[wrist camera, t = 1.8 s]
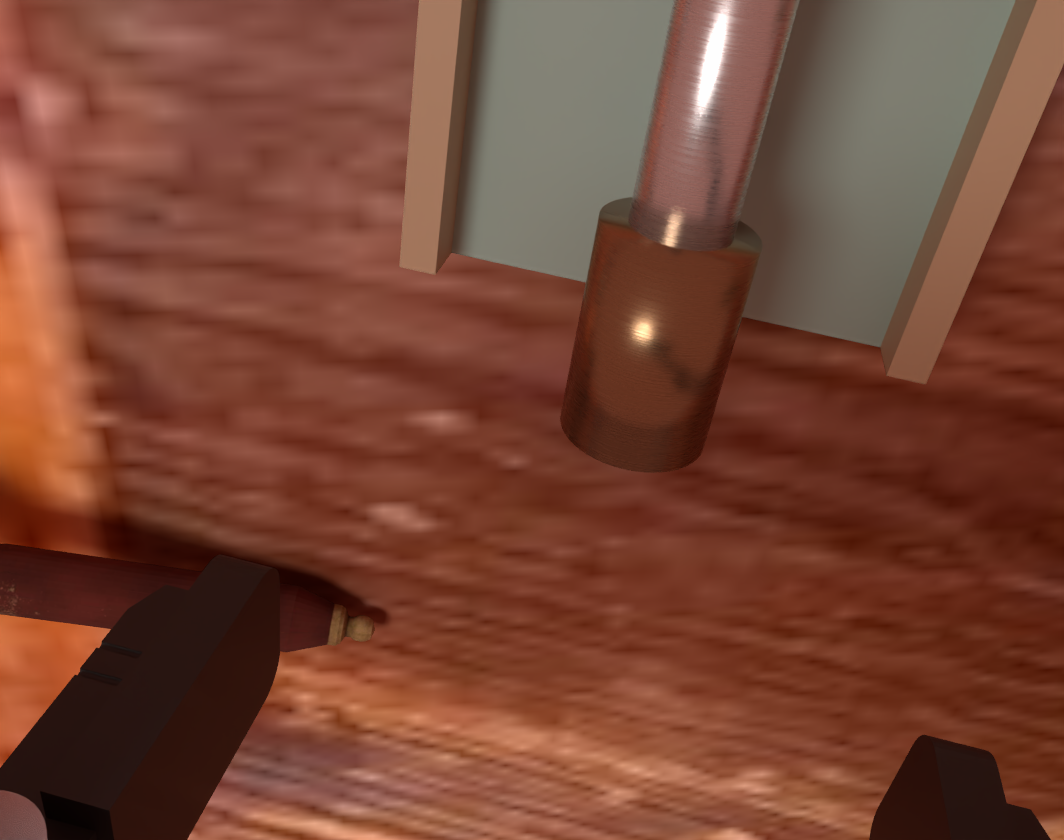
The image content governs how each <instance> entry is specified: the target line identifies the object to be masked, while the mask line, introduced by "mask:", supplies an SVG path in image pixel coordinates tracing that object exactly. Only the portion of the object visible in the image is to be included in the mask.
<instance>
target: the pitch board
mask: <svg viewBox="0 0 1064 840" xmlns="http://www.w3.org/2000/svg"><path fill="white" fill-rule="evenodd" d="M672 5H673V0H419V10H418V23H417V37H416V50H415V64H414V77H413V91H412V104H411V118H410V131H409V145H408V158H407V171H406V185H405V198H404V212H403V225H402V239H401V252H400V266H399V267H402V268H407V269H411V270H416V271H420V272H425V273H429V274H434V275H436V273H437V272H438V270H439V269H440V268H441V266H442V265H443V264H444V262H445V261H446V259H447V258H448V257H449V255H450V254H451V253H456V254H460V255H465V256H469V257H474V258H478V259H483V260H487V261H492V262H496V263H501V264H505V265H510V266H514V267H519V268H523V269H528V270H533V271H537V272H542V273H546V274H551V275H555V276H560V277H564V278H569V279H573V280H578V281H582V282H586V280H587V275H588V270H589V264H590V259H591V254H592V249H593V244H594V238H595V233H596V228H597V223H598V217H599V213H600V210H601V208H602V207H603V206H605V205H606V204H608V203H609V202H612V201H614V200H618V199H622V198H628V197H633V192H634V187H635V182H636V177H637V173H638V168H639V163H640V158H641V154H642V149H643V144H644V139H645V134H646V130H647V125H648V120H649V115H650V110H651V106H652V101H653V96H654V91H655V86H656V82H657V77H658V72H659V67H660V63H661V58H662V53H663V48H664V43H665V39H666V34H667V29H668V24H669V19H670V15H671V10H672ZM1063 64H1064V0H800V1H799V4H798V8H797V11H796V15H795V19H794V22H793V26H792V30H791V33H790V37H789V40H788V44H787V48H786V51H785V55H784V59H783V62H782V66H781V69H780V73H779V77H778V80H777V84H776V88H775V91H774V95H773V99H772V102H771V106H770V109H769V113H768V117H767V120H766V124H765V128H764V131H763V135H762V138H761V142H760V146H759V149H758V153H757V157H756V160H755V164H754V167H753V171H752V175H751V178H750V182H749V186H748V189H747V193H746V196H745V200H744V204H743V207H742V211H741V215H740V218H739V220H740V221H742V222H743V223H745V224H746V225H748V226H749V227H750V228H752V229H753V230H754V231H755V232H756V233H757V234H758V236H759V237H760V239H761V241H762V245H763V247H762V251H761V255H760V258H759V261H758V265H757V268H756V272H755V275H754V278H753V282H752V285H751V289H750V292H749V295H748V299H747V302H746V305H745V309H744V312H743V316H742V317H745V318H750V319H754V320H759V321H763V322H768V323H772V324H777V325H782V326H786V327H791V328H795V329H800V330H804V331H809V332H813V333H818V334H822V335H827V336H831V337H836V338H840V339H845V340H849V341H854V342H858V343H863V344H868V345H872V346H877V347H880V349H881V353H882V358H883V362H884V367H885V372H886V376H890V377H895V378H899V379H903V380H908V381H912V382H917V383H921V384H926V383H927V381H928V378H929V376H930V374H931V371H932V369H933V367H934V364H935V362H936V360H937V357H938V355H939V353H940V350H941V348H942V346H943V343H944V341H945V339H946V336H947V334H948V332H949V329H950V327H951V325H952V322H953V320H954V318H955V315H956V313H957V311H958V308H959V306H960V304H961V301H962V299H963V297H964V294H965V292H966V290H967V288H968V285H969V283H970V281H971V278H972V276H973V274H974V271H975V269H976V267H977V264H978V262H979V260H980V257H981V255H982V253H983V250H984V248H985V246H986V243H987V241H988V239H989V236H990V234H991V232H992V229H993V227H994V225H995V222H996V220H997V218H998V215H999V213H1000V211H1001V208H1002V206H1003V204H1004V201H1005V199H1006V197H1007V195H1008V192H1009V190H1010V188H1011V185H1012V183H1013V181H1014V178H1015V176H1016V174H1017V171H1018V169H1019V167H1020V164H1021V162H1022V160H1023V157H1024V155H1025V153H1026V150H1027V148H1028V146H1029V143H1030V141H1031V139H1032V136H1033V134H1034V132H1035V129H1036V127H1037V125H1038V122H1039V120H1040V118H1041V115H1042V113H1043V111H1044V108H1045V106H1046V104H1047V102H1048V99H1049V97H1050V95H1051V92H1052V90H1053V88H1054V85H1055V83H1056V81H1057V78H1058V76H1059V74H1060V71H1061V69H1062V67H1063Z"/></svg>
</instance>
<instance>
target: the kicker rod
mask: <svg viewBox="0 0 1064 840" xmlns="http://www.w3.org/2000/svg"><path fill="white" fill-rule="evenodd" d="M799 1H800V0H673V5H672V10H671V15H670V19H669V24H668V29H667V34H666V39H665V43H664V48H663V53H662V58H661V63H660V67H659V72H658V77H657V82H656V86H655V91H654V96H653V101H652V106H651V110H650V115H649V120H648V125H647V130H646V134H645V139H644V144H643V149H642V154H641V158H640V163H639V168H638V173H637V177H636V182H635V187H634V192H633V197H628V198H622V199H618V200H614V201H612V202H609V203H608V204H606V205H605V206H603V207H602V208H601V210H600V213H599V217H598V223H597V228H596V233H595V238H594V244H593V249H592V254H591V259H590V264H589V270H588V275H587V280H586V285H585V291H584V296H583V301H582V306H581V312H580V317H579V322H578V327H577V332H576V338H575V343H574V348H573V353H572V359H571V364H570V369H569V374H568V380H567V385H566V390H565V395H564V400H563V406H562V411H561V416H560V421H561V426H562V429H563V431H564V433H565V434H566V436H567V437H568V439H569V440H570V441H571V442H572V443H573V444H574V445H575V446H576V447H578V448H579V449H580V450H582V451H583V452H584V453H586V454H587V455H589V456H591V457H593V458H595V459H597V460H599V461H601V462H603V463H606V464H609V465H612V466H615V467H618V468H622V469H626V470H631V471H638V472H652V473H654V472H667V471H673V470H677V469H680V468H683V467H686V466H688V465H689V464H691V463H693V462H694V461H695V460H697V458H698V457H699V456H700V455H701V453H702V451H703V448H704V445H705V441H706V438H707V434H708V431H709V428H710V424H711V421H712V417H713V414H714V411H715V407H716V404H717V400H718V397H719V394H720V390H721V387H722V384H723V380H724V377H725V373H726V370H727V367H728V363H729V360H730V356H731V353H732V350H733V346H734V343H735V339H736V336H737V333H738V329H739V326H740V322H741V319H742V316H743V312H744V309H745V305H746V302H747V299H748V295H749V292H750V289H751V285H752V282H753V278H754V275H755V272H756V268H757V265H758V261H759V258H760V255H761V251H762V247H763V245H762V241H761V239H760V237H759V236H758V234H757V233H756V232H755V231H754V230H753V229H752V228H750V227H749V226H748V225H746V224H745V223H743V222H742V221H740V220H739V218H740V215H741V211H742V207H743V204H744V200H745V196H746V193H747V189H748V186H749V182H750V178H751V175H752V171H753V167H754V164H755V160H756V157H757V153H758V149H759V146H760V142H761V138H762V135H763V131H764V128H765V124H766V120H767V117H768V113H769V109H770V106H771V102H772V99H773V95H774V91H775V88H776V84H777V80H778V77H779V73H780V69H781V66H782V62H783V59H784V55H785V51H786V48H787V44H788V40H789V37H790V33H791V30H792V26H793V22H794V19H795V15H796V11H797V8H798V4H799Z"/></svg>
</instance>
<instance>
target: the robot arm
mask: <svg viewBox="0 0 1064 840" xmlns="http://www.w3.org/2000/svg"><path fill="white" fill-rule="evenodd" d="M279 655H280V577H279V572H278V570H277V569H276V568H272V567H268V566H264V565H260V564H256V563H252V562H249V561H245V560H241V559H237V558H233V557H229V556H225V555H217V556H216V557H214V558H213V559H212V560H211V561H210V562H209V563H208V565H207V566H206V567H205V569H204V570H203V571H202V573H201V574H200V575H199V577H198V578H197V579H196V581H195V582H194V584H193V585H192V586H191V588H190V589H189V590H185V589H182V588H178V587H174V586H170V585H164V586H163V587H161V588H160V589H158V590H157V591H155V592H153V593H152V594H150V595H149V596H147V597H146V598H144V599H142V600H141V601H139V602H138V603H136V604H135V605H133V606H131V607H130V608H128V609H127V610H126V612H125V613H124V614H123V615H122V617H121V618H120V619H119V620H118V622H117V623H116V624H115V625H114V627H113V628H112V629H111V630H110V632H109V633H108V634H107V635H106V637H105V638H104V639H103V640H102V644H101V646H100V648H96V649H95V650H94V652H93V653H92V654H91V655H90V657H89V658H88V659H87V660H86V662H85V663H84V664H83V665H82V667H81V668H80V672H79V674H78V675H74V677H73V678H72V679H71V680H70V682H69V683H68V684H67V685H66V687H65V688H64V689H63V690H62V692H61V693H60V694H59V695H58V697H57V698H56V699H55V700H54V702H53V703H52V704H51V705H50V707H49V708H48V709H47V710H46V712H45V713H44V714H43V715H42V717H41V718H40V719H39V720H38V722H37V723H36V724H35V725H34V727H33V728H32V729H31V730H30V732H29V733H28V734H27V735H26V737H25V738H24V739H23V740H22V742H21V743H20V744H19V745H18V746H17V748H16V749H15V750H14V751H13V753H12V754H11V755H10V756H9V758H8V759H7V760H6V761H5V763H4V764H3V765H2V766H1V768H0V840H187V839H188V837H189V835H190V833H191V832H192V830H193V828H194V826H195V824H196V823H197V821H198V819H199V817H200V816H201V814H202V812H203V810H204V808H205V807H206V805H207V803H208V801H209V800H210V798H211V796H212V794H213V792H214V791H215V789H216V787H217V785H218V784H219V782H220V780H221V778H222V777H223V775H224V773H225V771H226V769H227V768H228V766H229V764H230V762H231V761H232V759H233V757H234V755H235V753H236V752H237V750H238V748H239V746H240V745H241V743H242V741H243V739H244V737H245V736H246V734H247V732H248V730H249V729H250V727H251V725H252V723H253V721H254V720H255V718H256V716H257V714H258V713H259V711H260V709H261V707H262V705H263V704H264V702H265V700H266V698H267V696H268V694H269V691H270V689H271V686H272V684H273V681H274V678H275V674H276V671H277V667H278V662H279ZM869 840H1051V839H1050V838H1049V836H1048V835H1047V833H1046V832H1045V830H1044V829H1043V827H1042V826H1041V824H1040V823H1039V821H1038V820H1037V818H1036V817H1035V815H1034V814H1033V812H1032V811H1031V810H1030V809H1026V808H1022V807H1019V806H1015V805H1011V804H1007V803H1006V799H1005V795H1004V791H1003V787H1002V783H1001V779H1000V775H999V771H998V767H997V764H996V761H995V759H994V757H993V755H992V754H991V753H990V752H988V751H986V750H982V749H978V748H974V747H970V746H966V745H962V744H958V743H955V742H951V741H947V740H943V739H939V738H935V737H931V736H927V735H922V736H920V737H919V738H918V739H917V740H916V741H915V743H914V744H913V746H912V748H911V749H910V751H909V753H908V755H907V757H906V758H905V760H904V762H903V764H902V766H901V767H900V769H899V771H898V773H897V775H896V776H895V778H894V780H893V782H892V784H891V785H890V787H889V789H888V791H887V793H886V794H885V796H884V798H883V800H882V802H881V803H880V805H879V807H878V809H877V811H876V814H875V816H874V820H873V823H872V828H871V833H870V839H869Z"/></svg>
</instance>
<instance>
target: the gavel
mask: <svg viewBox="0 0 1064 840" xmlns="http://www.w3.org/2000/svg"><path fill="white" fill-rule="evenodd" d="M201 573H202V572H199V571H192V570H185V569H178V568H171V567H164V566H157V565H150V564H143V563H136V562H130V561H123V560H116V559H109V558H102V557H95V556H88V555H81V554H74V553H67V552H60V551H53V550H46V549H39V548H32V547H25V546H18V545H11V544H0V614H3V615H10V616H18V617H25V618H33V619H41V620H48V621H56V622H63V623H71V624H78V625H86V626H93V627H101V628H108V629H112V628H113V627H114V625H115V624H116V623H117V622H118V620H119V619H120V618H121V617H122V615H123V614H124V613H125V612H126V610H127V609H128V608H130V607H131V606H133V605H135V604H136V603H138V602H139V601H141V600H142V599H144V598H146V597H147V596H149V595H150V594H152V593H153V592H155V591H157V590H158V589H160V588H161V587H163V586H164V585H170V586H174V587H178V588H182V589H185V590H189V589H190V588H191V586H192V585H193V584H194V582H195V581H196V579H197V578H198V577H199V575H200V574H201ZM374 631H375V628H374V622H373V620H372V619H371V618H370V617H368V616H364V615H358V616H356V617H350V616H348V613H347V610H346V608H345V607H344V606H343V605H339V604H334V603H332V602H330V601H328V600H326V599H324V598H322V597H320V596H318V595H316V594H314V593H312V592H310V591H308V590H306V589H304V588H302V587H300V586H296V585H289V584H282V583H280V651H282V652H290V651H296V650H301V649H306V648H312V647H317V646H322V645H337V644H340V642H341V641H342V640H343V638H344V637H345V636H346V637H351V638H352V639H354V640H356V641H367V640H369V639H370V638H371V636H372V634H373V633H374Z"/></svg>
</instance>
